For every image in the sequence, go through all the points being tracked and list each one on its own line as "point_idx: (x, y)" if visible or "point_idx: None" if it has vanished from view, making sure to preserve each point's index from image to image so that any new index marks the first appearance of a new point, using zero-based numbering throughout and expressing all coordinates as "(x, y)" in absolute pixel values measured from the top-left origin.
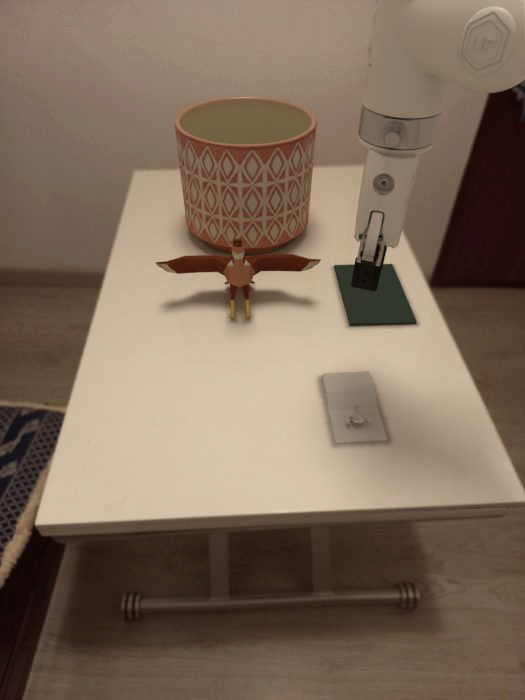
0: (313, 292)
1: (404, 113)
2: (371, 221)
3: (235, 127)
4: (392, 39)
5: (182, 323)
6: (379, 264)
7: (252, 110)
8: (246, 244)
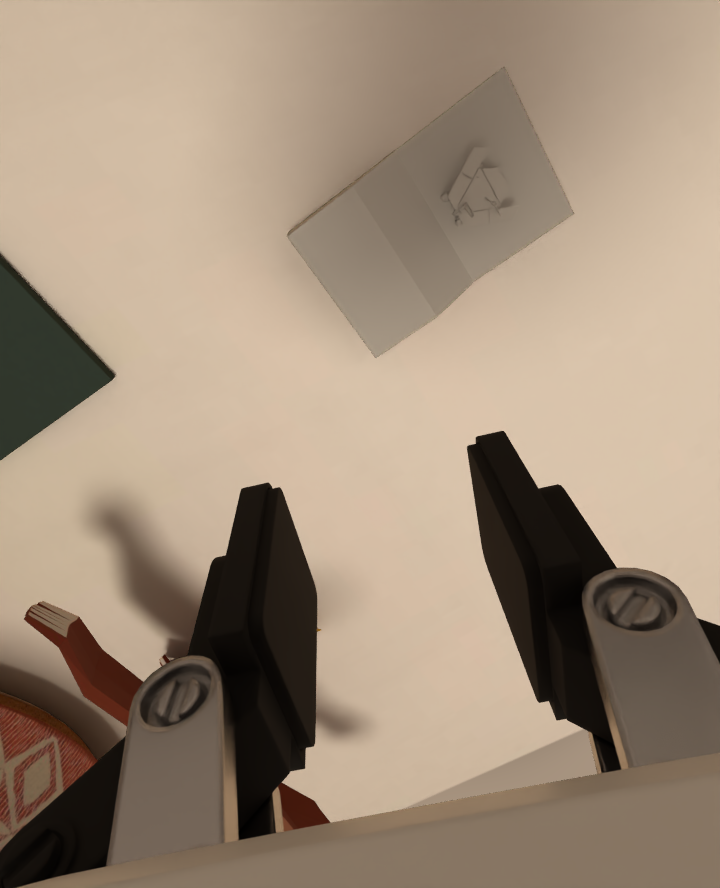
0: (59, 525)
1: None
2: None
3: None
4: None
5: (381, 685)
6: (683, 595)
7: None
8: (65, 756)
